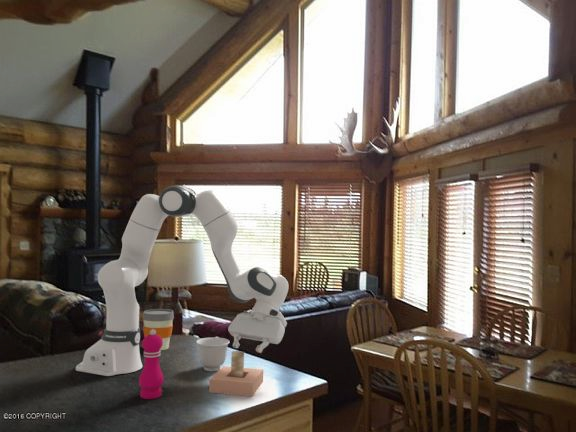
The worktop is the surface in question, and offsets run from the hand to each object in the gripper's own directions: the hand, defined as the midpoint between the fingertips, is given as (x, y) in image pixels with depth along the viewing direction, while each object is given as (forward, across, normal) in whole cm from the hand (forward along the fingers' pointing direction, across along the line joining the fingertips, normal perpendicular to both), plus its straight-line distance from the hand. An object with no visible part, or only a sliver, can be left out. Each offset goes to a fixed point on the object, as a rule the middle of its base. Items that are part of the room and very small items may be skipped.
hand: (246, 349), depth 160 cm
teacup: (+3, -19, +12) cm, 23 cm away
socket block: (+11, 0, +4) cm, 12 cm away
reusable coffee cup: (-2, -55, +18) cm, 58 cm away
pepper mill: (+26, -17, -10) cm, 33 cm away
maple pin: (+11, 0, +4) cm, 12 cm away
